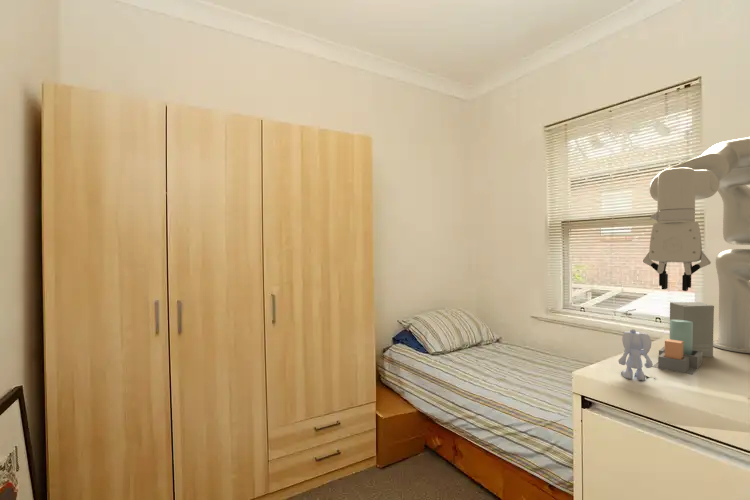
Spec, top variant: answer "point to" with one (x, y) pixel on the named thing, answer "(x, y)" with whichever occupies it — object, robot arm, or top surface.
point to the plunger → (674, 349)
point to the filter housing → (680, 362)
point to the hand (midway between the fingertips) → (674, 289)
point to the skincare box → (697, 323)
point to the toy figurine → (635, 353)
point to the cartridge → (682, 334)
